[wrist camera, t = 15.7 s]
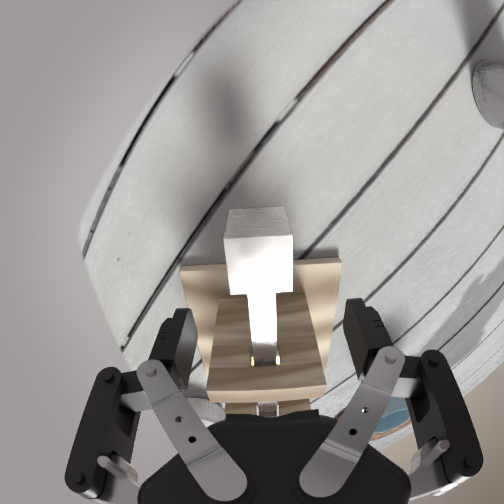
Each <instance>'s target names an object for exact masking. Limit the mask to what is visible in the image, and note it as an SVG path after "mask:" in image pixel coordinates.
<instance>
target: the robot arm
mask: <svg viewBox="0 0 504 504" xmlns="http://www.w3.org/2000/svg"><path fill="white" fill-rule="evenodd" d="M473 92H474V97H475V101H476V103H477V106H478V108H479V111H480V113H481V114H482V116H483V117H484V119H485V120H486V121H487V122H488V123H489V124H491V125H492V126H494V127H497V128H501V129H504V60H482V61H480V62H479V63H478V64H477V65H476V67H475V69H474V73H473ZM343 329H344V334H345V337H346V340H347V343H348V346H349V350H350V353H351V356H352V360H353V363H354V366H355V370H356V373H357V377H358V380H364V381H363V382H361V383H360V385H359V387H358V389H357V390H356V392H355V394H354V396H353V397H352V399H351V401H350V402H349V404H348V406H347V407H346V409H345V411H344V412H343V414H342V416H341V417H340V419H339V420H336V419H334V418H331V417H328V416H323V415H319V411H318V409H314V410H305V411H295V412H292V413H289V414H285V415H282V416H278V417H274V418H269V417H263V416H258V415H253V414H226V420H222V421H219V422H216V423H214V424H212V425H210V426H208V427H206V426H205V425H204V423H203V422H202V421H201V419H200V418H199V416H198V415H197V414H196V412H195V411H194V409H193V408H192V407H191V405H190V404H189V402H188V401H187V399H186V398H185V396H184V395H183V393H182V392H181V391H179V390H180V389H187V386H188V381H189V376H190V372H191V367H192V362H193V358H194V353H195V349H196V344H197V339H198V333H197V328H196V324H195V321H194V317H193V313H192V310H191V309H190V308H177V309H176V310H175V313H174V316H173V318H167V319H166V320H165V321H164V322H163V323H162V324H161V327H160V329H159V333H158V335H157V337H156V338H157V339H156V340H155V343H154V346H153V348H152V351H151V354H150V357H149V359H148V360H147V361H145V362H143V363H142V364H140V365H139V367H138V369H137V370H135V371H131V372H126V373H121V372H120V371H119V370H118V369H117V368H115V367H107V368H105V369H103V370H101V371H100V372H99V373H98V375H97V377H96V380H95V382H94V385H93V388H92V390H91V393H90V396H89V398H88V401H87V404H86V407H85V410H84V412H83V415H82V419H81V421H80V425H79V427H78V431H77V434H76V437H75V440H74V444H73V447H72V450H71V454H70V457H69V460H68V464H67V468H66V472H65V482H66V484H67V486H68V487H69V489H71V490H72V491H74V492H76V493H78V494H80V495H81V496H82V497H84V498H86V499H88V500H90V501H92V502H94V503H96V504H408V502H409V501H410V500H413V499H416V498H419V497H422V496H425V495H428V494H431V495H434V496H438V495H441V494H443V493H445V492H447V491H449V490H451V489H452V488H454V487H456V486H458V485H459V484H461V483H463V482H464V481H466V480H467V479H469V478H470V477H472V476H474V475H475V474H477V473H478V472H479V471H480V469H481V467H482V465H483V454H482V451H481V448H480V444H479V441H478V439H477V435H476V432H475V429H474V426H473V423H472V420H471V418H470V415H469V412H468V409H467V407H466V404H465V402H464V399H463V397H462V394H461V392H460V389H459V387H458V385H457V382H456V380H455V378H454V375H453V373H452V371H451V369H450V366H449V364H448V362H447V360H446V358H445V356H444V355H443V354H442V353H441V352H439V351H437V350H427V351H425V352H424V353H423V354H422V356H421V357H413V356H406V355H404V353H403V352H402V351H401V350H400V349H398V348H396V347H394V346H393V343H392V341H391V339H390V337H389V335H388V332H387V330H386V328H385V326H384V324H383V322H382V321H381V318H380V316H379V314H378V312H377V311H376V310H375V309H374V308H372V307H371V306H370V307H366V306H365V304H364V302H363V300H362V298H354V299H347V301H346V307H345V314H344V320H343ZM391 397H405V400H406V404H407V407H408V411H409V414H410V418H411V422H412V426H413V430H414V433H415V437H416V442H417V446H418V451H417V452H416V453H415V454H414V456H413V458H412V460H411V471H410V473H409V475H407V473H406V472H405V471H404V470H403V469H402V468H400V467H399V466H397V465H396V464H395V463H393V462H392V461H390V460H389V459H388V458H386V457H385V456H384V455H382V454H381V453H380V452H378V451H377V450H376V449H375V448H373V447H372V446H371V445H369V444H368V442H369V441H370V439H371V437H372V435H373V433H374V431H375V429H376V427H377V425H378V423H379V421H380V419H381V417H382V415H383V413H384V411H385V409H386V407H387V404H388V402H389V400H390V398H391ZM149 409H153V410H154V412H155V414H156V416H157V418H158V419H159V421H160V423H161V425H162V427H163V428H164V430H165V432H166V433H167V435H168V437H169V438H170V440H171V442H172V443H173V445H174V447H175V448H176V450H177V451H178V454H177V455H175V456H174V457H173V458H172V459H171V460H170V461H168V462H167V463H166V464H165V465H164V466H163V467H161V468H160V469H159V470H158V471H157V472H155V473H154V474H153V475H152V476H151V477H149V478H148V479H147V480H146V481H145V482H144V483H143V484H142V485H141V487H140V485H139V483H138V475H137V471H136V470H135V468H134V467H132V465H130V462H131V457H132V452H133V446H134V441H135V437H136V431H137V427H138V422H139V418H140V413H141V411H143V410H149Z"/></svg>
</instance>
